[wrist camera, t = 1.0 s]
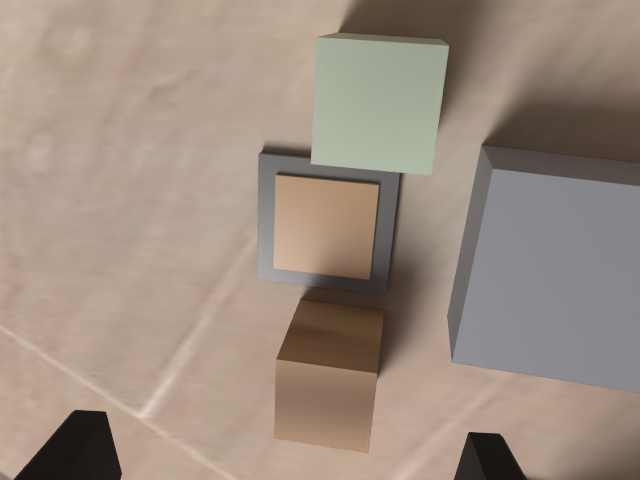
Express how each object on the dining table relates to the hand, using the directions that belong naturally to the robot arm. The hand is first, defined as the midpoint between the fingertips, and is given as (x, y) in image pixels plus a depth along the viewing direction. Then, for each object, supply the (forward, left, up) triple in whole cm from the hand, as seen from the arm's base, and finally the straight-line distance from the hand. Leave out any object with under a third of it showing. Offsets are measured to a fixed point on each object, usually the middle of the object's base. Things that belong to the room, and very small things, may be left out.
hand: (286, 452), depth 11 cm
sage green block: (+6, -1, -14) cm, 15 cm away
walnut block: (-6, 0, -14) cm, 16 cm away
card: (0, +1, -14) cm, 14 cm away
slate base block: (0, -9, -15) cm, 17 cm away
